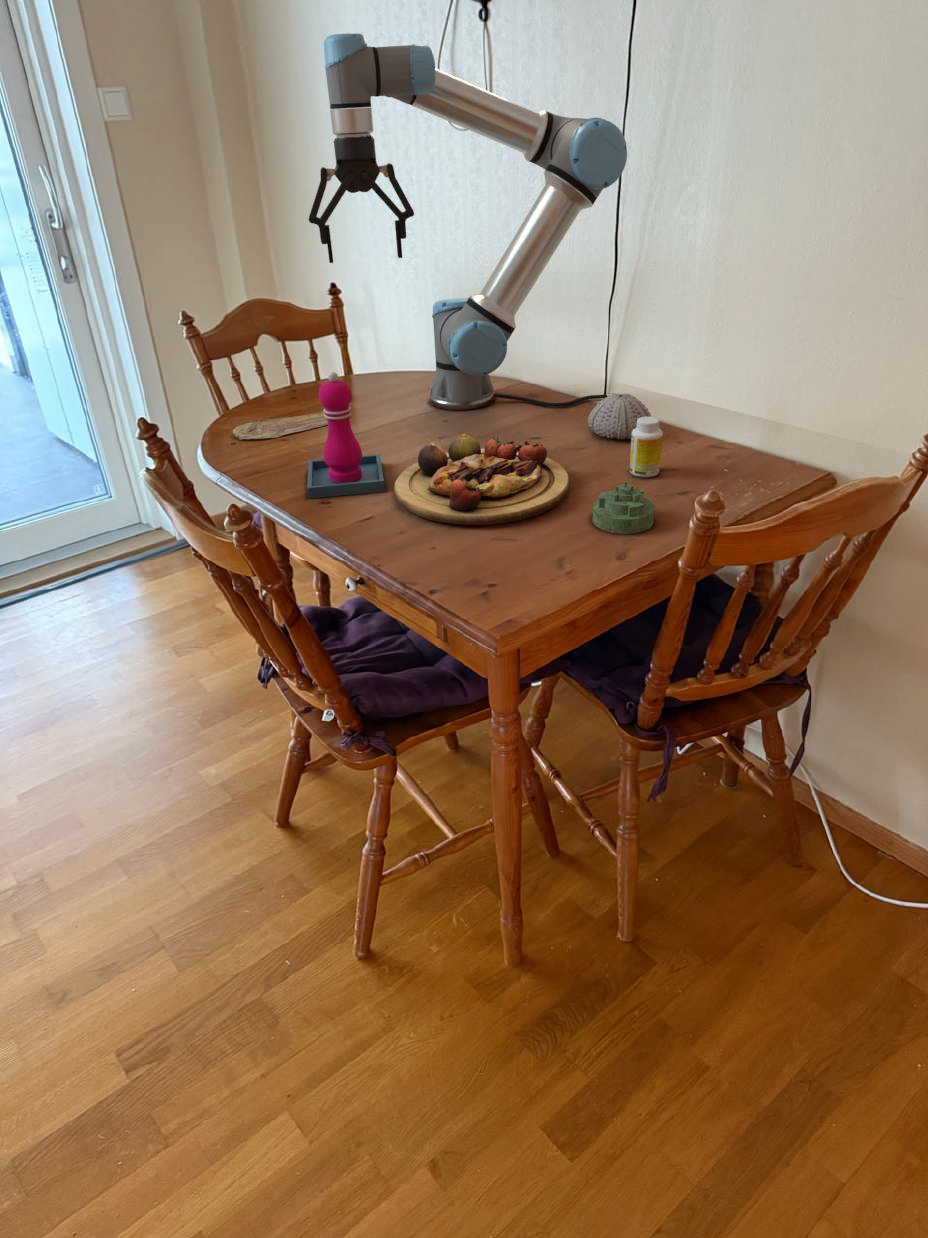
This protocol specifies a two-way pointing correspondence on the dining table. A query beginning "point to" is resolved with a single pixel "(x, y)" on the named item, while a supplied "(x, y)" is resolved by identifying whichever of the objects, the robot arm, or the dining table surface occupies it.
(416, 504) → the wooden plate
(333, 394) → the pepper mill
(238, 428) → the fish fossil
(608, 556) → the dining table surface
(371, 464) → the tray
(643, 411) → the sea urchin shell
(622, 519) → the decorative artifact
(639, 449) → the supplement bottle
